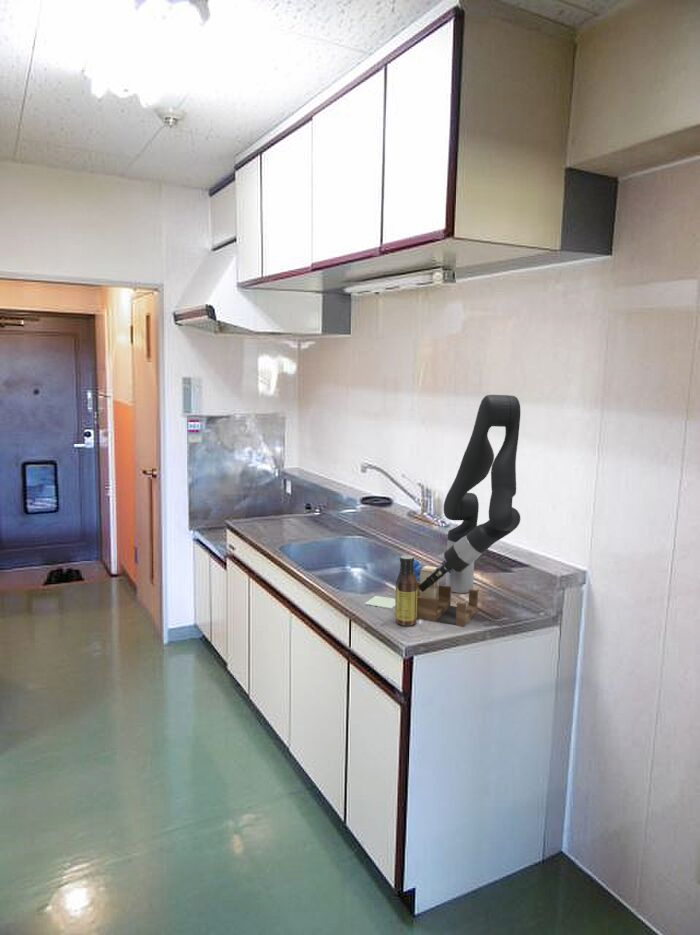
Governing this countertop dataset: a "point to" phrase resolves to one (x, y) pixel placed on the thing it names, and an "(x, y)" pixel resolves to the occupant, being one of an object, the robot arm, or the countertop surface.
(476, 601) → the wooden holder
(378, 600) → the mat
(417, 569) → the grapes
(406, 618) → the sauce bottle
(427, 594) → the block
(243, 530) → the countertop surface
